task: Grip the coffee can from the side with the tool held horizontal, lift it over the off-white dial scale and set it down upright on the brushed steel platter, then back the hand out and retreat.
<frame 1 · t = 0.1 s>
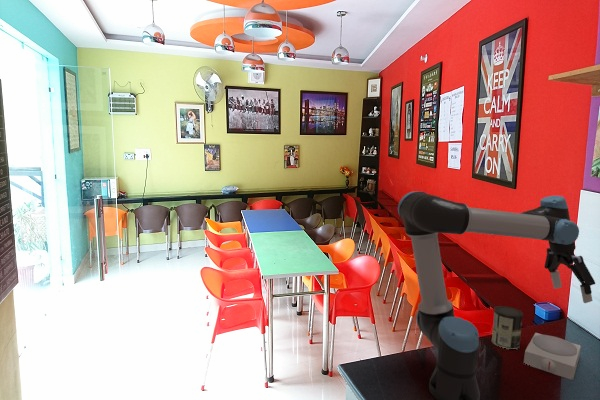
hand: (572, 294, 136), 28 cm above the counter, tool tilted 20°, fingers open, 13 cm apart
kitchen scale: (551, 360, 144), on the counter
coffee can: (505, 344, 156), on the counter
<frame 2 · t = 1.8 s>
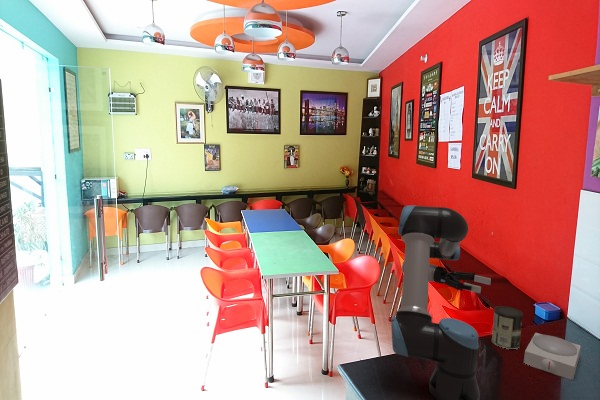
hand: (485, 285, 159), 22 cm above the counter, tool horizontal, fingers open, 13 cm apart
nothing on the counter moved.
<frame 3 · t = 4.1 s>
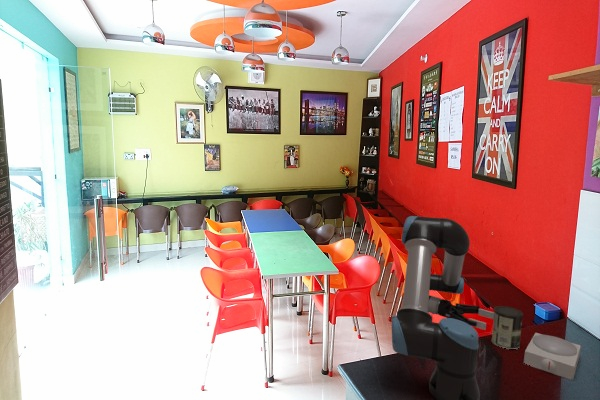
hand: (490, 321, 160), 7 cm above the counter, tool horizontal, fingers open, 13 cm apart
nothing on the counter moved.
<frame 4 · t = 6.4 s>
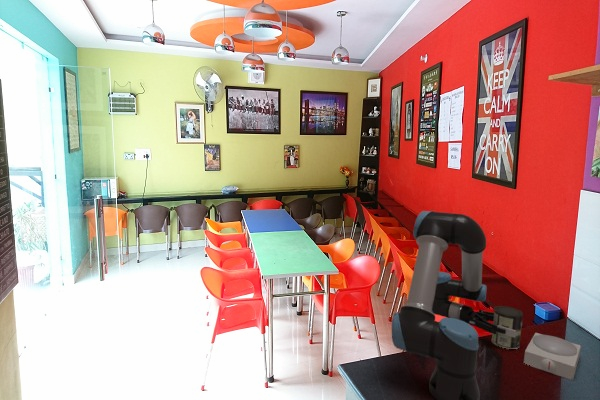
hand: (518, 329, 152), 8 cm above the counter, tool horizontal, fingers closed on coffee can, 10 cm apart
coffee can: (505, 343, 156), on the counter, touching gripper
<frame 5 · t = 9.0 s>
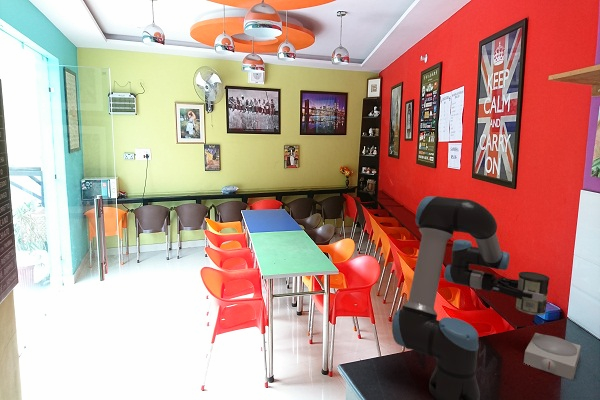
hand: (545, 294, 147), 24 cm above the counter, tool horizontal, fingers closed on coffee can, 10 cm apart
coffee can: (530, 310, 150), point 16 cm above the counter, touching gripper
when the fingers open (15 cm above the counter, at t = 11.7 s): coffee can drops 2 cm, resting on kitchen scale.
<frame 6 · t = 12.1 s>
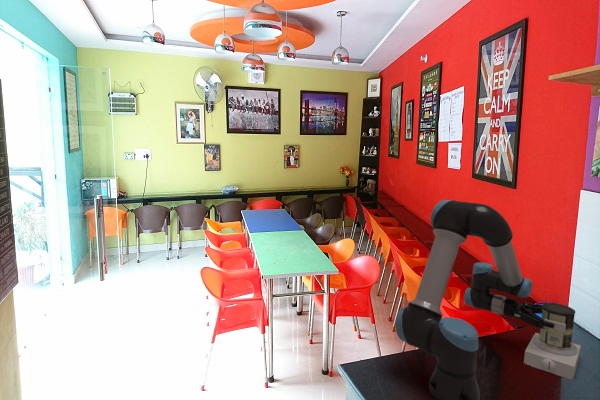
hand: (568, 322, 141), 15 cm above the counter, tool horizontal, fingers open, 13 cm apart
coffee can: (554, 343, 145), point 6 cm above the counter, touching kitchen scale
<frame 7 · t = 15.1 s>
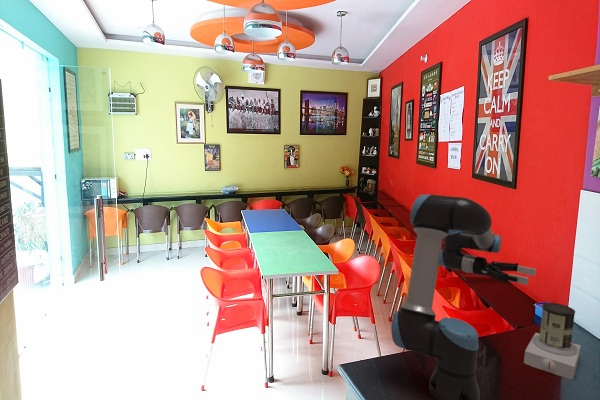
hand: (532, 276, 148), 30 cm above the counter, tool horizontal, fingers open, 13 cm apart
nothing on the counter moved.
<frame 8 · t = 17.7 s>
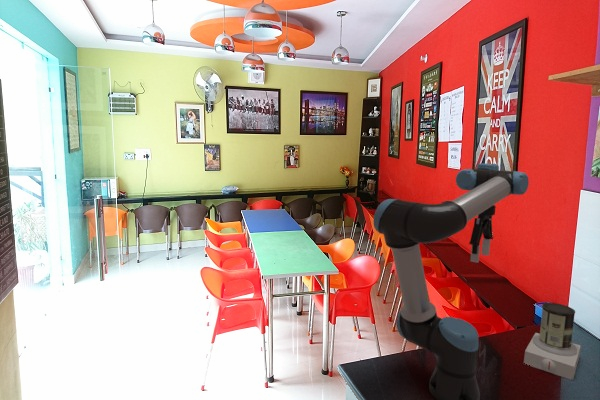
hand: (479, 258, 147), 37 cm above the counter, tool pointing down, fingers open, 13 cm apart
nothing on the counter moved.
at the end: coffee can inside the target area on the kitchen scale (0.5 cm from its centre), point 5.8 cm above the kitchen scale's base; coffee can tilted 0°; the gripper is holding nothing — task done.
